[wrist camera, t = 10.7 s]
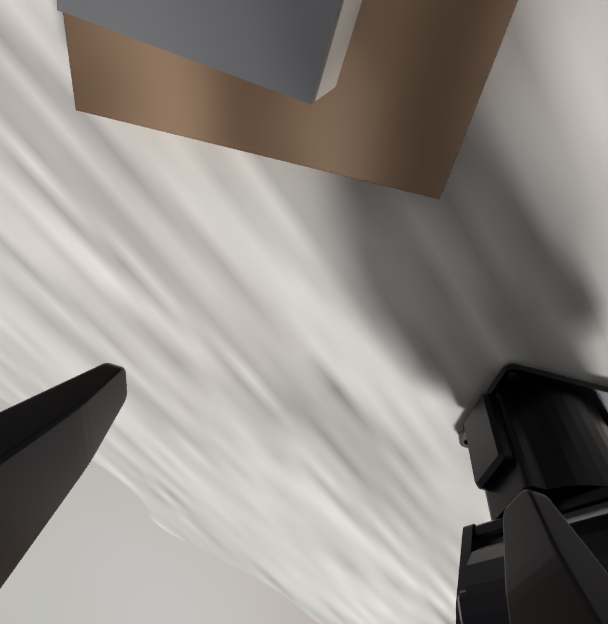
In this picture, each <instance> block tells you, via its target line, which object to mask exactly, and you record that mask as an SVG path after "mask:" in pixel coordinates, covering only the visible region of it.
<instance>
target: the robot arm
mask: <svg viewBox="0 0 608 624" xmlns="http://www.w3.org/2000/svg"><path fill="white" fill-rule="evenodd" d="M510 373H515V374H513V375H509V374H510ZM126 396H127V384H126V371H125V369H124V368H123V367H121V366H117V365H114V364H111V363H105V364H102V365H100V366H97V367H95V368H93V369H91V370H89V371H87V372H85V373H82V374H80V375H78V376H76V377H74V378H72V379H70V380H67V381H65V382H63V383H61V384H59V385H57V386H55V387H53V388H50V389H48V390H46V391H44V392H42V393H40V394H38V395H35V396H33V397H31V398H29V399H27V400H25V401H23V402H21V403H18V404H16V405H14V406H12V407H10V408H8V409H6V410H4V411H1V412H0V588H1V587H2V585H3V584H4V583H5V581H6V580H7V578H8V577H9V576H10V574H11V573H12V572H13V570H14V569H15V567H16V566H17V564H18V563H19V562H20V560H21V559H22V558H23V556H24V555H25V553H26V552H27V551H28V549H29V548H30V546H31V545H32V544H33V542H34V540H35V539H36V538H37V536H38V535H39V534H40V532H41V531H42V529H43V528H44V527H45V525H46V524H47V523H48V521H49V520H50V518H51V517H52V516H53V514H54V512H55V511H56V510H57V509H58V507H59V506H60V504H61V503H62V501H63V500H64V499H65V497H66V496H67V494H68V493H69V492H70V490H71V489H72V487H73V486H74V484H75V483H76V482H77V481H78V479H79V478H80V476H81V475H82V473H83V472H84V471H85V469H86V468H87V466H88V465H89V463H90V462H91V460H92V458H93V457H94V455H95V453H96V451H97V450H98V448H99V446H100V444H101V443H102V441H103V439H104V437H105V436H106V434H107V432H108V430H109V428H110V427H111V425H112V423H113V421H114V420H115V418H116V416H117V414H118V413H119V411H120V409H121V407H122V406H123V404H124V402H125V399H126ZM459 442H460V445H461V446H463V447H466V448H469V453H470V459H471V464H472V469H473V474H474V479H475V483H476V485H477V487H478V488H479V489H482V490H485V493H486V497H487V502H488V507H489V511H490V516H491V520H492V521H489V522H486V523H482V524H479V525H475V524H472V525H469V526H465V527H463V534H462V545H461V556H460V566H459V577H458V588H457V599H456V624H608V388H606V387H602V386H598V385H594V384H590V383H587V382H583V381H579V380H575V379H571V378H567V377H563V376H560V375H556V374H552V373H548V372H544V371H540V370H537V369H533V368H529V367H525V366H521V365H517V364H508V365H506V366H504V367H503V368H502V370H501V371H500V373H499V374H498V376H497V377H496V379H495V380H494V382H493V383H492V385H491V386H490V388H489V389H488V391H487V393H485V394H484V395H482V396H481V398H480V399H479V401H478V402H477V404H476V405H475V407H474V408H473V410H472V411H471V413H470V415H469V416H468V418H467V419H466V421H465V422H464V428H463V429H462V431H461V433H460V434H459Z"/></svg>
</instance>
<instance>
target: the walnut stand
mask: <svg viewBox="0 0 608 624" xmlns="http://www.w3.org/2000/svg"><path fill="white" fill-rule="evenodd" d="M517 1H518V0H362V3H361V6H360V9H359V12H358V16H357V19H356V22H355V25H354V29H353V32H352V35H351V38H350V42H349V45H348V48H347V51H346V55H345V58H344V61H343V64H342V67H341V71H340V74H339V77H338V80H337V84H336V87H335V88H333V89H332V90H331V91H329V92H328V93H326V94H325V95H324V96H322V97H321V98H319V99H318V100H317V101H315V102H314V103H313V104H311V105H310V104H308V103H305V102H302V101H300V100H297V99H294V98H292V97H289V96H286V95H284V94H281V93H278V92H276V91H273V90H270V89H267V88H265V87H262V86H259V85H257V84H254V83H251V82H249V81H246V80H243V79H241V78H238V77H235V76H233V75H230V74H227V73H225V72H222V71H219V70H217V69H214V68H211V67H209V66H206V65H203V64H201V63H198V62H195V61H193V60H190V59H187V58H185V57H182V56H179V55H177V54H174V53H171V52H169V51H166V50H163V49H160V48H158V47H155V46H152V45H150V44H147V43H144V42H142V41H139V40H136V39H134V38H131V37H128V36H126V35H123V34H120V33H118V32H115V31H112V30H110V29H107V28H104V27H102V26H99V25H96V24H94V23H91V22H88V21H86V20H83V19H80V18H78V17H75V16H72V15H70V14H67V13H64V12H63V16H64V23H65V31H66V39H67V46H68V54H69V62H70V69H71V77H72V85H73V92H74V100H75V107H76V110H78V111H82V112H86V113H90V114H94V115H98V116H102V117H106V118H110V119H114V120H118V121H122V122H126V123H131V124H135V125H139V126H143V127H147V128H151V129H155V130H159V131H163V132H167V133H171V134H175V135H180V136H184V137H188V138H192V139H196V140H200V141H204V142H208V143H212V144H216V145H220V146H224V147H228V148H233V149H237V150H241V151H245V152H249V153H253V154H257V155H261V156H265V157H269V158H273V159H277V160H281V161H286V162H290V163H294V164H298V165H302V166H306V167H310V168H314V169H318V170H322V171H326V172H330V173H335V174H339V175H343V176H347V177H351V178H355V179H359V180H363V181H367V182H371V183H375V184H379V185H383V186H388V187H392V188H396V189H400V190H404V191H408V192H412V193H416V194H420V195H424V196H428V197H432V198H437V199H440V197H441V194H442V192H443V189H444V187H445V184H446V182H447V179H448V177H449V174H450V171H451V169H452V166H453V164H454V161H455V159H456V156H457V154H458V151H459V149H460V146H461V144H462V141H463V138H464V136H465V133H466V131H467V128H468V126H469V123H470V121H471V118H472V116H473V113H474V111H475V108H476V105H477V103H478V100H479V98H480V95H481V93H482V90H483V88H484V85H485V83H486V80H487V78H488V75H489V72H490V70H491V67H492V65H493V62H494V60H495V57H496V55H497V52H498V50H499V47H500V44H501V42H502V39H503V37H504V34H505V32H506V29H507V27H508V24H509V22H510V19H511V17H512V14H513V11H514V9H515V6H516V4H517Z"/></svg>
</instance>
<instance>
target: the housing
mask: <svg viewBox="0 0 608 624" xmlns="http://www.w3.org/2000/svg"><path fill="white" fill-rule="evenodd" d="M361 3H362V0H57V10H59V11H61V12H64V13H67V14H70V15H72V16H75V17H78V18H80V19H83V20H86V21H88V22H91V23H94V24H96V25H99V26H102V27H104V28H107V29H110V30H112V31H115V32H118V33H120V34H123V35H126V36H128V37H131V38H134V39H136V40H139V41H142V42H144V43H147V44H150V45H152V46H155V47H158V48H160V49H163V50H166V51H169V52H171V53H174V54H177V55H179V56H182V57H185V58H187V59H190V60H193V61H195V62H198V63H201V64H203V65H206V66H209V67H211V68H214V69H217V70H219V71H222V72H225V73H227V74H230V75H233V76H235V77H238V78H241V79H243V80H246V81H249V82H251V83H254V84H257V85H259V86H262V87H265V88H267V89H270V90H273V91H276V92H278V93H281V94H284V95H286V96H289V97H292V98H294V99H297V100H300V101H302V102H305V103H308V104H310V105H311V104H313V103H314V102H315V101H317V100H318V99H319V98H321V97H322V96H324V95H325V94H326V93H328V92H329V91H331V90H332V89H333V88H335V87H336V84H337V80H338V77H339V74H340V71H341V67H342V64H343V61H344V58H345V55H346V51H347V48H348V45H349V42H350V38H351V35H352V32H353V29H354V25H355V22H356V19H357V16H358V12H359V9H360V6H361Z"/></svg>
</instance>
